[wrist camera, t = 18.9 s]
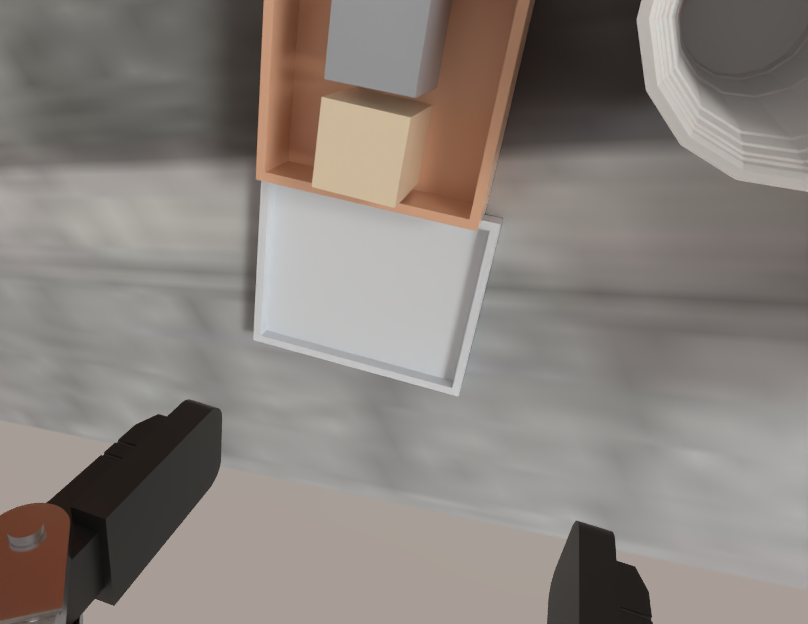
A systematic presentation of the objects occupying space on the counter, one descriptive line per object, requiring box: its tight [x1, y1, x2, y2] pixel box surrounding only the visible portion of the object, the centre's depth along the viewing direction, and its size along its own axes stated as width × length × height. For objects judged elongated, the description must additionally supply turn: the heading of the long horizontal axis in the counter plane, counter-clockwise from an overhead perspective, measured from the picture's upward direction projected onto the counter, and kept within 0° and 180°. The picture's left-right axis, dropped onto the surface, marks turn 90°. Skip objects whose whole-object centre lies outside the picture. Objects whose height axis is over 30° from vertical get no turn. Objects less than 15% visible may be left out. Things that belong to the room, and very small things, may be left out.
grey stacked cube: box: [324, 0, 453, 98], centre depth 27 cm, size 4×4×5 cm
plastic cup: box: [637, 0, 808, 192], centre depth 22 cm, size 11×11×12 cm
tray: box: [253, 181, 503, 396], centre depth 36 cm, size 14×12×1 cm
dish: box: [256, 0, 535, 231], centre depth 30 cm, size 12×11×4 cm
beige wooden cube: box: [312, 87, 433, 208], centre depth 30 cm, size 4×4×5 cm
